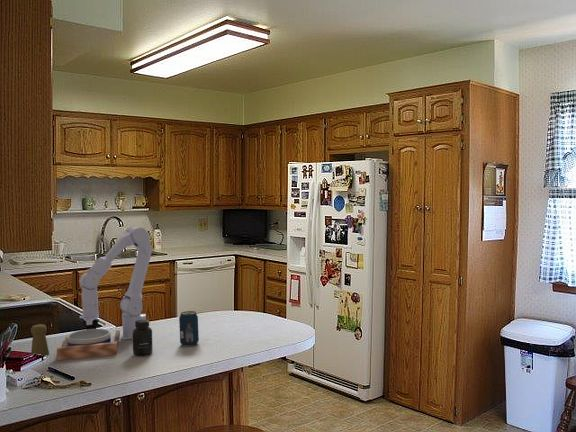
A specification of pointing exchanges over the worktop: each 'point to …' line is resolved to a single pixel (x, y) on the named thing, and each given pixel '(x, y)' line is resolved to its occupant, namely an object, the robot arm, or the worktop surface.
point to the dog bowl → (89, 337)
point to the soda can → (188, 328)
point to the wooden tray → (88, 349)
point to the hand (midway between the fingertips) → (91, 339)
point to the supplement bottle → (142, 338)
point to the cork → (39, 340)
